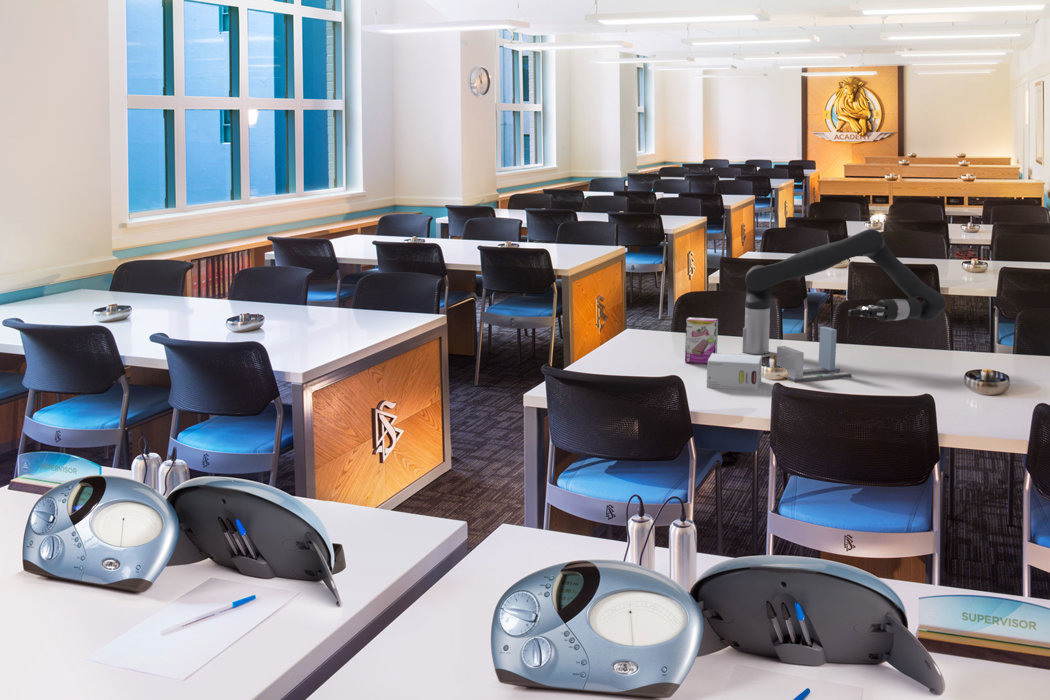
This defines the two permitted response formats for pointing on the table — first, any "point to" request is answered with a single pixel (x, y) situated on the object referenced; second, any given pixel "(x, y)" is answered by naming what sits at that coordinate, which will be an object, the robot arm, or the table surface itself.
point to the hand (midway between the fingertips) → (849, 313)
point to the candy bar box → (700, 339)
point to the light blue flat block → (827, 348)
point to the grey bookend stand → (794, 367)
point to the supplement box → (734, 371)
